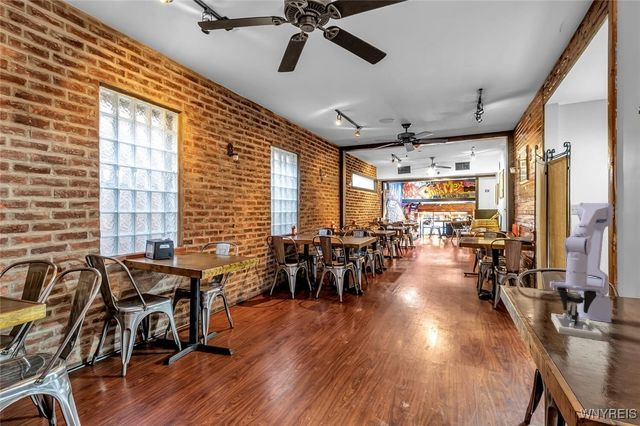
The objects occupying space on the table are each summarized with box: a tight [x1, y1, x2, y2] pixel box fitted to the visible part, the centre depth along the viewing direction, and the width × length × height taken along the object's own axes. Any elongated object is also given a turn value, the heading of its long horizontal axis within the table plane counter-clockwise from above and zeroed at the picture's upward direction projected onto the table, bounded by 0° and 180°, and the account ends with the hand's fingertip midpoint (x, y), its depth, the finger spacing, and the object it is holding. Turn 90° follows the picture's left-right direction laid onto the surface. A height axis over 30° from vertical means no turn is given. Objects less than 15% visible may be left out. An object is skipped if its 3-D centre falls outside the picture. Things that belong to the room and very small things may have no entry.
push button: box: [567, 291, 584, 324], centre depth 113 cm, size 7×5×10 cm
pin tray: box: [550, 312, 603, 341], centre depth 112 cm, size 11×16×3 cm
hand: (574, 311), depth 112 cm, fingers closed on push button, 5 cm apart
